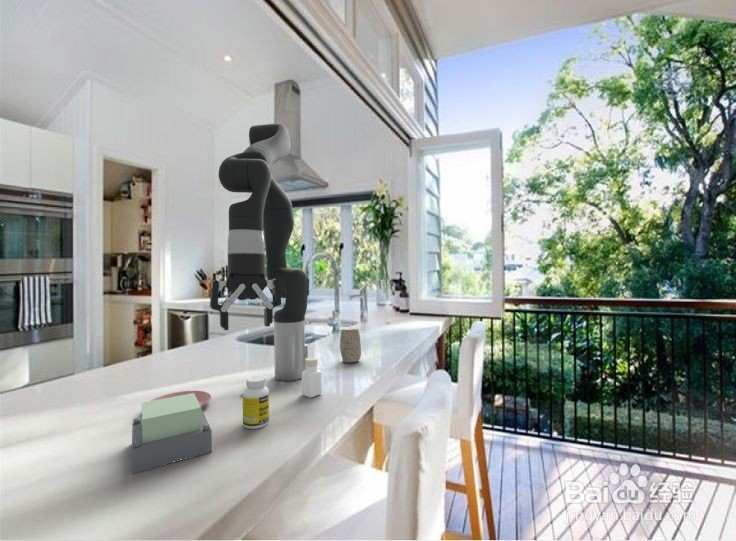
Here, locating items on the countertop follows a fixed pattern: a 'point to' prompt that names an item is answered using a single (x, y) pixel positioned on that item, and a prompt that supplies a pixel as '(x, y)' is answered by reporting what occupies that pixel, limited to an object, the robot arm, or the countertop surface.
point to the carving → (350, 344)
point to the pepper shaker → (311, 378)
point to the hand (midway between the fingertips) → (247, 327)
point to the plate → (200, 395)
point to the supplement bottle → (255, 403)
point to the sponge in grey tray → (169, 432)
